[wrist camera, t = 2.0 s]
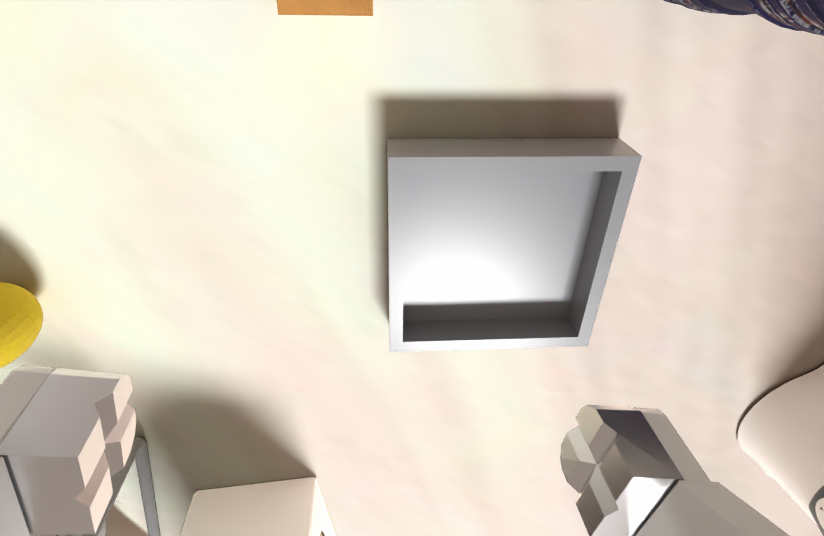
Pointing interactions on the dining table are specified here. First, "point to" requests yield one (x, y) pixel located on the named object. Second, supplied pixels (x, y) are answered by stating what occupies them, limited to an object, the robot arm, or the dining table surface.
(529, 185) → the grey tray
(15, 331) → the lemon
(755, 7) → the black ridged cylinder
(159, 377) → the dining table surface
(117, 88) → the dining table surface
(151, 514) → the newton's cradle
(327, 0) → the wooden block
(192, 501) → the gable box
